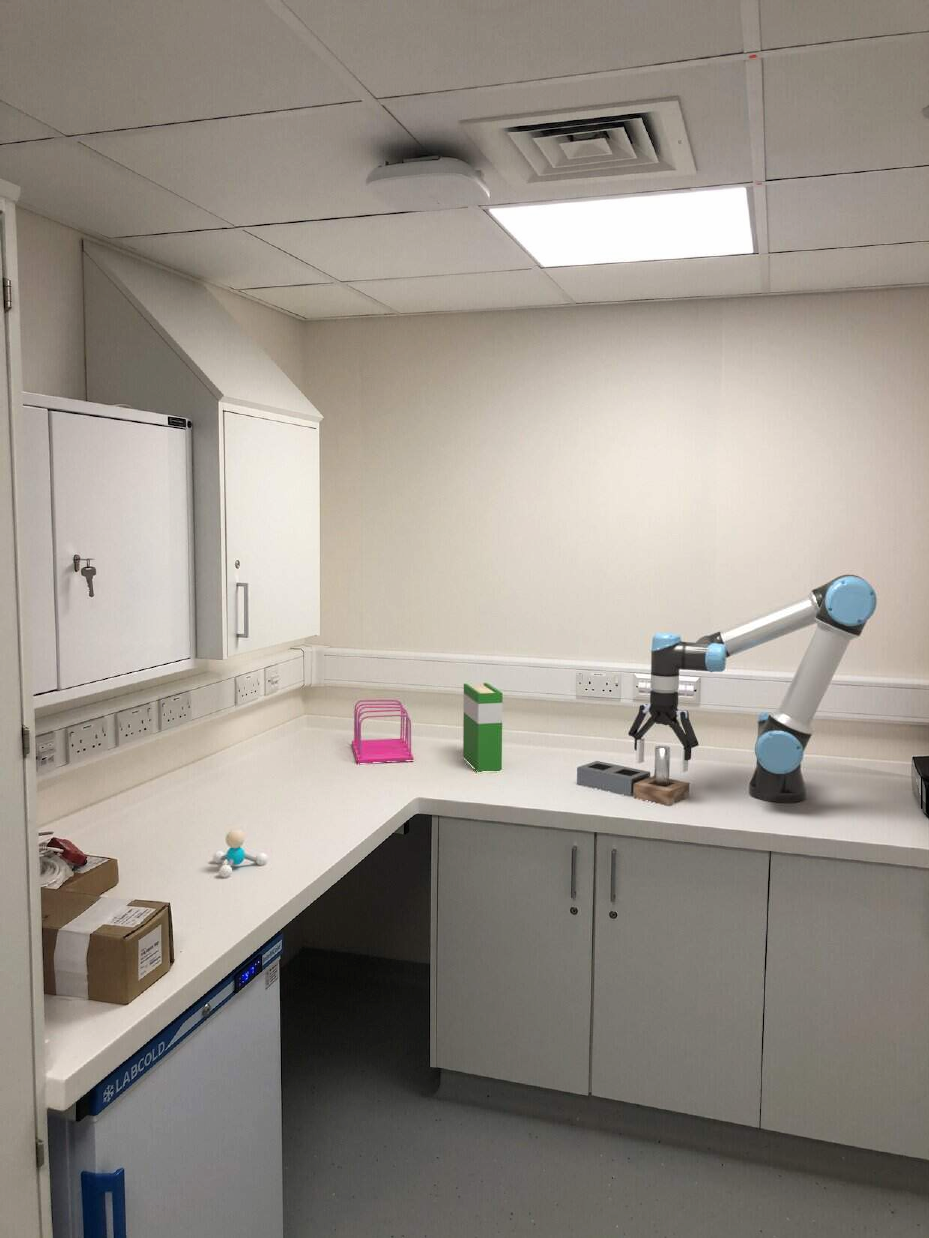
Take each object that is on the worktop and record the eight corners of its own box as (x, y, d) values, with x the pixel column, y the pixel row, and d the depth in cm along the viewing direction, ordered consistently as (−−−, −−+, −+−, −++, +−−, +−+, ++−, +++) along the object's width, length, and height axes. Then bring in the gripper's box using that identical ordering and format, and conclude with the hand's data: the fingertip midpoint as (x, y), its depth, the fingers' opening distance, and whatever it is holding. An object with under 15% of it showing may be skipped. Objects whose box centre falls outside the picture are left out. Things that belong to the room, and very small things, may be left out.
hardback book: (463, 758, 307) (463, 683, 304) (485, 757, 309) (486, 682, 306) (477, 773, 290) (478, 693, 287) (501, 771, 292) (502, 692, 289)
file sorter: (403, 743, 327) (403, 697, 325) (413, 762, 302) (413, 712, 301) (351, 745, 324) (351, 699, 322) (357, 765, 299) (357, 714, 297)
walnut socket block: (689, 797, 267) (689, 782, 266) (668, 806, 259) (669, 791, 258) (654, 789, 274) (654, 775, 274) (633, 797, 266) (633, 783, 265)
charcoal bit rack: (649, 789, 274) (650, 771, 274) (631, 796, 267) (631, 779, 266) (596, 777, 286) (596, 760, 286) (576, 784, 279) (577, 767, 278)
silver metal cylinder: (671, 797, 266) (672, 747, 265) (663, 800, 263) (665, 750, 262) (658, 794, 269) (659, 745, 268) (651, 797, 266) (652, 747, 265)
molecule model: (237, 883, 204) (236, 842, 203) (191, 873, 209) (191, 834, 208) (270, 864, 215) (270, 825, 214) (226, 855, 220) (226, 818, 219)
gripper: (713, 694, 258) (710, 772, 260) (632, 682, 274) (629, 756, 276) (699, 698, 252) (696, 778, 254) (617, 686, 268) (615, 761, 271)
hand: (661, 767), depth 265 cm, fingers open, 13 cm apart
